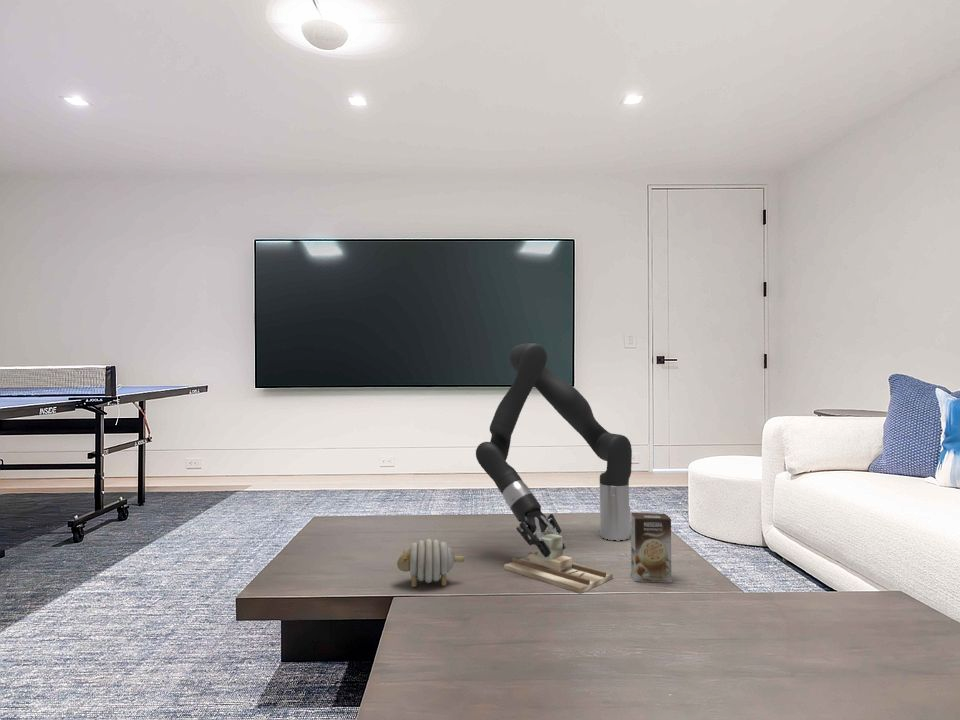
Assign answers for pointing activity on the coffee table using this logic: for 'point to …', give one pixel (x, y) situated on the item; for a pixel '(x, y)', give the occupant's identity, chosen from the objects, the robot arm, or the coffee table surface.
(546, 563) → the block
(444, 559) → the toy sheep
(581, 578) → the birch plank
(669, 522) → the coffee box
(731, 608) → the coffee table surface
